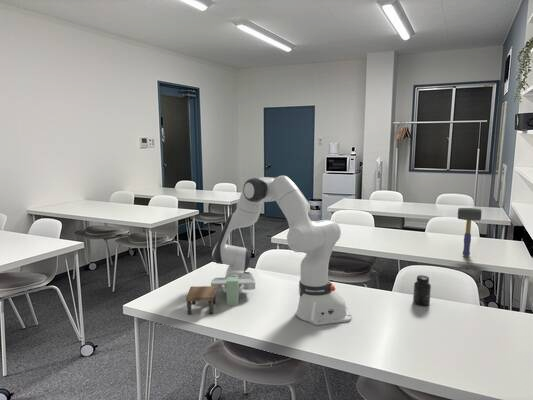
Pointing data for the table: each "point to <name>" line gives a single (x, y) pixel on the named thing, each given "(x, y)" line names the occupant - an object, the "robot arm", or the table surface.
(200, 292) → the peg shelf
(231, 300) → the green block
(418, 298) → the supplement bottle
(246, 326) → the table surface
